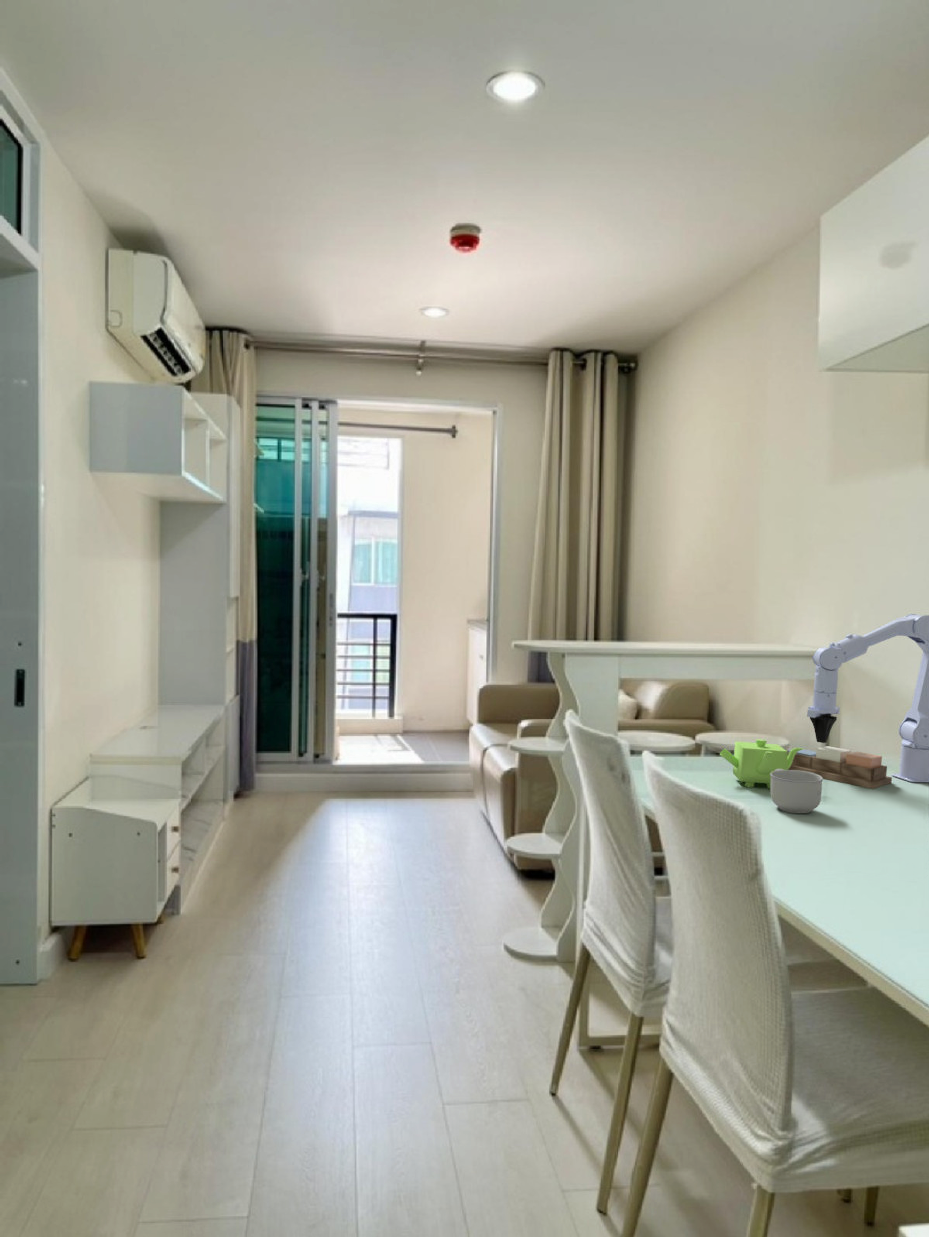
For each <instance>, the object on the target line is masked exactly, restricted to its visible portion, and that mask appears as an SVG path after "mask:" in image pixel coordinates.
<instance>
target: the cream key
mask: <svg viewBox="0 0 929 1237" xmlns="http://www.w3.org/2000/svg"><path fill="white" fill-rule="evenodd" d="M815 752H816V758H820V759H825V760H830V761H835V762H840V763H842V762H846V755H847V754H848V753H852V750H850V749H846V748H840V747H839V748H838V747H834V746H828V745H826V746H821V747H816V751H815Z"/></svg>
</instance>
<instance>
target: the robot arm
mask: <svg viewBox="0 0 929 1237" xmlns="http://www.w3.org/2000/svg"><path fill="white" fill-rule="evenodd" d="M897 636H902V637H907V638H908V639H910V640H912V641H914V642H915V643H916V644H917V646H918V647H919V648H920V649H921V651H922V657H921V661H920V665H919V670H918V674H917V680H916V684H915V689H914V693H913V697H912V703H911V706H910V709H909V710H907V712H906V713H905V716H904V719H903V721H902V722H901V723H900V725H899V727H898V735H899V737H900V738H901V739H902V740H901V746H900V756H899V757H900V760H899V768H898V770H899V771H898V772H899V773H891V774H890V775H891V776H893V777H894V778H898V779H900V780H901V779H902V780H904V781H908V782H910V783H929V614H928V615H927V614H924V615H923V614H922V615H921V614H915V613H910V614H907V615H905V616H901V617H897V618H896V619H894V620H892V621H890V622H888V623H886V624H884V625H882V626H879V627H878V628H876V629H873V630H872V631H870V632H868V633H865V634H864V635H859V634H851V633H848V634H847V635H845V638H843V639H841V640H839V641H836V642H830V643H829V647H827V646H824V647H823V646H822V647H819V648H818V649H817V650H816V652H814V655H813V656H812V661H813V664H814V665H815V668H814V669H815V670H814V682H813V695H812V696H813V698H812V705H809V706H808V707H807V708H808V709H807V713H806V714H807V715H806V717H808V718H809V720H810V721H811V723H812V726H813V729H814V730H813V731H814V733H815V739H816V740H815V741H816V742H817V743H821V744H826V743H827V742H828V740H829V736H830V733H831V730H832V728H833V726H834V724H835V723H836V721H837V716H834V715H840V708H841V707H840V706H836V705H837V692H838V691H837V689H838V680H839V678H838V674H839V669H840V668H841V667H842V665H843V664H844V663H847V662H849V661H852V660H854V659H857V658H858V657H860V656H863V655H865V654H867V651H868V648H869V647H872V646H874V645H877V644H879V643H882V642H884V641H887V640H890V639H892V638H894V637H897Z"/></svg>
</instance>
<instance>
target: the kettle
mask: <svg viewBox="0 0 929 1237" xmlns="http://www.w3.org/2000/svg"><path fill="white" fill-rule="evenodd" d="M767 742H768V741H767V740H766V739H761V738H759V739H755V742H747V741H735V742H734V751H733V753H734V754H733V753H731V752H730V751H729V750H728V749H727V748H724V749H723V750H721V752H720V753H719V756H721V757H722V758H723V759H724V760H726V761H727V762H728V763H730V764H731V765H733V767H732V774H733V775H734V776H735V777H736V779H737V780H739V781H740V782H741V783H744V787H747V788H755V784H756V783H757V784H765V785H766V788H767V789H770V790H771V776H770V773H771V772H773V771H775V770H776V769H783V770H788V769H789V768H790V766H791V764H792V762H793V759H794V756H795V754H796V753H797V752H798V751H800V750H802V749H805V748H803V747H794V748H792V749H790V750H791V751H790V753H789V755H788V752H787V751H788V750H787V749H785V748H783V747H782V746H781V745H779V744H775V743H773V744H772V743H767ZM787 755H788V756H787Z"/></svg>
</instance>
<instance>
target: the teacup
mask: <svg viewBox="0 0 929 1237" xmlns="http://www.w3.org/2000/svg"><path fill="white" fill-rule="evenodd" d="M770 776H771V789H770V798H771V801H772V802H773V804H774V805H775V806H777V807H778V809H780V810H781V811H784V812H787V813H791V814H809V813H811V812H812V811H813V810H816V809H817V808H818V807H819V805H820V803H821V799H822V790H823V779H824V778H822V777H821V776H820V775H818V774H815V773H811V772H806V771H799V770H783V769H776V770H775V771H773V772H771V773H770Z"/></svg>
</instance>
